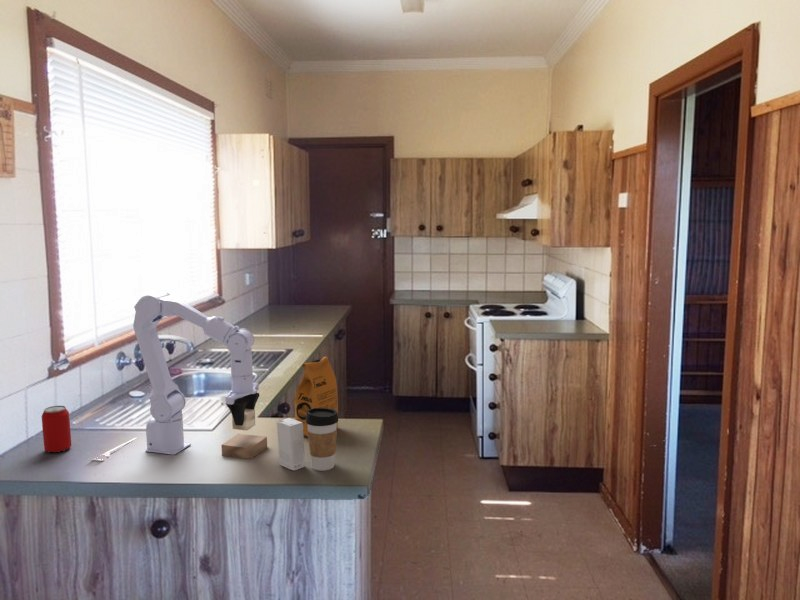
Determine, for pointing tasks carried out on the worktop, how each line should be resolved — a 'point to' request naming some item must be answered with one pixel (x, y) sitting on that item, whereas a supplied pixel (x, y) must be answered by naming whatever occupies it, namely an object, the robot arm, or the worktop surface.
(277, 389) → the worktop surface
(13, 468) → the worktop surface
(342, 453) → the worktop surface
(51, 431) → the beverage can
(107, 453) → the fork
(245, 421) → the birch block
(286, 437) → the skincare box
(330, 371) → the coffee package
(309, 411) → the coffee cup
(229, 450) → the walnut base
